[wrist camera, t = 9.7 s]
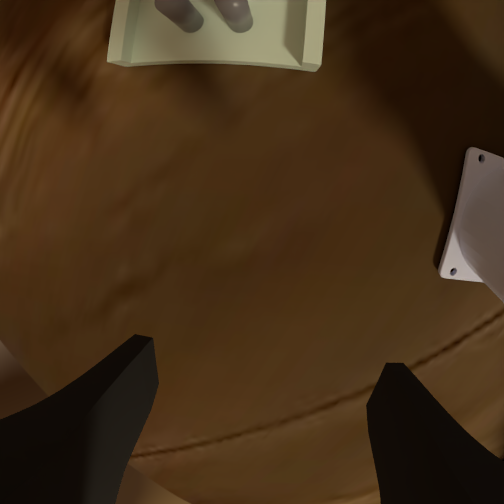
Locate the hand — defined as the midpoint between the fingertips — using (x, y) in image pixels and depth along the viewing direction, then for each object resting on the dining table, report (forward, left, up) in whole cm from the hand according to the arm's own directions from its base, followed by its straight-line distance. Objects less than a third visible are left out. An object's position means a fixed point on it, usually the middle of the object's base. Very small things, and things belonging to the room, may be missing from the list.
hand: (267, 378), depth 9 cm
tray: (+4, -18, -9) cm, 21 cm away
